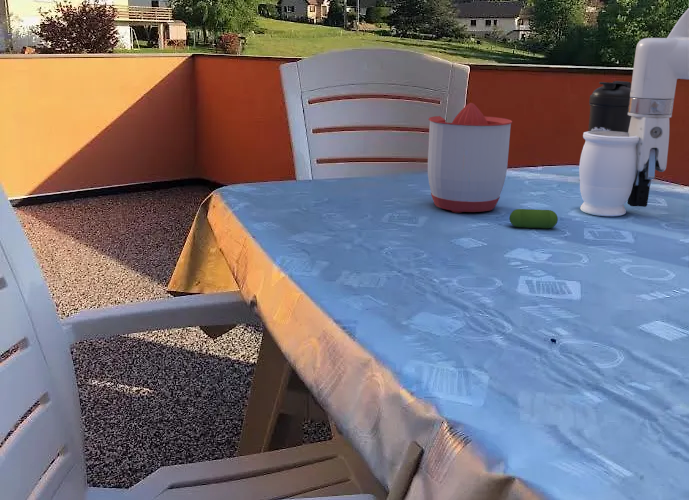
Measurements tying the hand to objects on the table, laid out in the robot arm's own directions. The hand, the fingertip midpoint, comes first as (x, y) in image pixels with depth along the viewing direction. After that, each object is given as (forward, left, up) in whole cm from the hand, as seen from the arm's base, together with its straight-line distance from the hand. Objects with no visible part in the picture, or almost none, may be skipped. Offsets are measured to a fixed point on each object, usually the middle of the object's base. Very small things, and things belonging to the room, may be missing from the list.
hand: (637, 205), depth 135 cm
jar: (+6, 0, -2) cm, 6 cm away
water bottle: (-2, -31, -2) cm, 31 cm away
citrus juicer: (+33, -1, -2) cm, 33 cm away
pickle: (+22, +14, -2) cm, 26 cm away
